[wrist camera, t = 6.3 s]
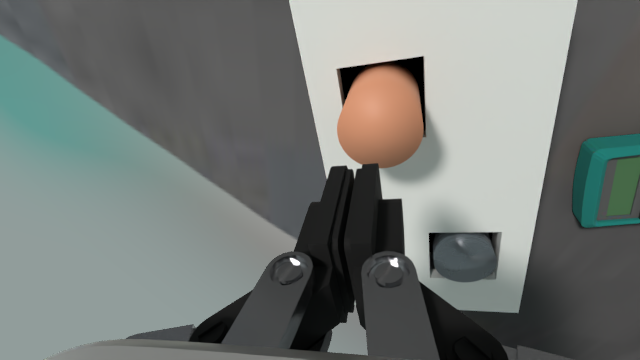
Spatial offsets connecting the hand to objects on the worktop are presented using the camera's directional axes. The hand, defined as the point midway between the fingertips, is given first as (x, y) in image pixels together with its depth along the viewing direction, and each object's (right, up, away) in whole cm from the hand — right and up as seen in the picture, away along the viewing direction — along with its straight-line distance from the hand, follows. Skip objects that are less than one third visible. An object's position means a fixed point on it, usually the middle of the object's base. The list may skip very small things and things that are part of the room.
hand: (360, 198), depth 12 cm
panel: (+7, +3, +16) cm, 18 cm away
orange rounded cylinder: (+3, +6, +9) cm, 12 cm away
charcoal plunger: (+11, -3, +18) cm, 21 cm away
